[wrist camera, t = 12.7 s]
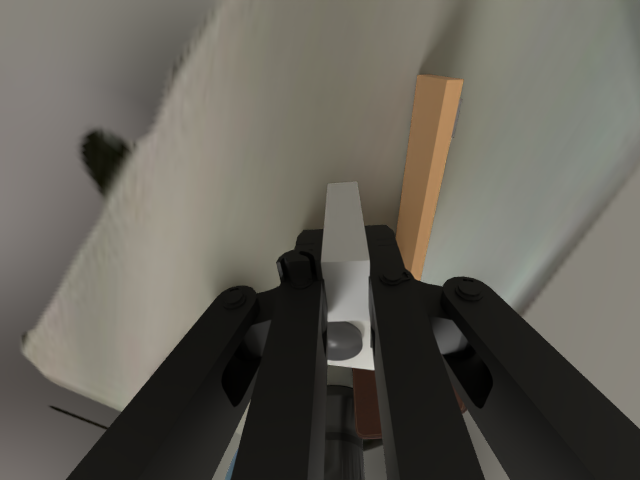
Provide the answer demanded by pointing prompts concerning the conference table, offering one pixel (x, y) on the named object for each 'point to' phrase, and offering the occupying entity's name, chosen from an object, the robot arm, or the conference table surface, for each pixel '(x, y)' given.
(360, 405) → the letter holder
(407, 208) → the side door
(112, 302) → the conference table surface
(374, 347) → the robot arm
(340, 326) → the camera housing
